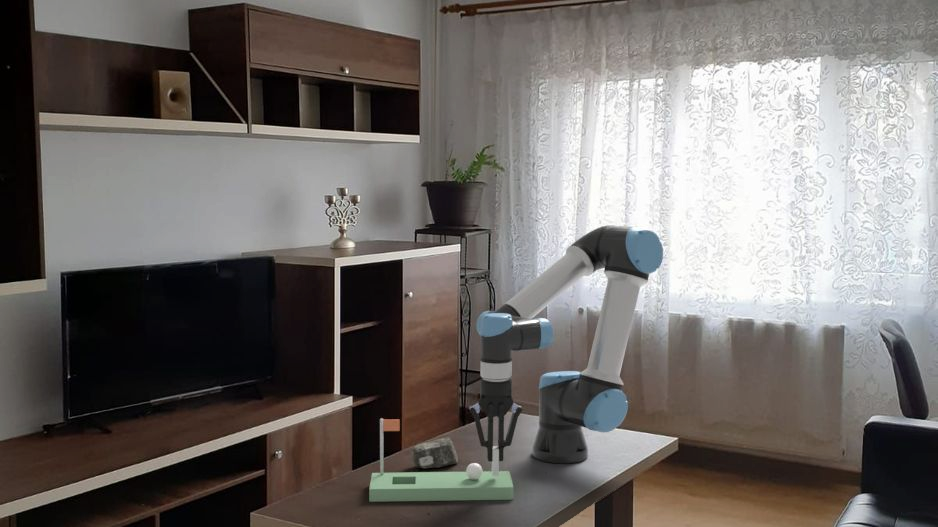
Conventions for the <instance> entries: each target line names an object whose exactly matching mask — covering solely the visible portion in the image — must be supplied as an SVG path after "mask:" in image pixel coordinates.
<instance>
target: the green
mask: <svg viewBox="0 0 938 527" xmlns="http://www.w3.org/2000/svg"><path fill="white" fill-rule="evenodd" d="M400 422H401V421H400V419H398V418H397V419H393V418H392V419H384V418H380V419H379V459H380V460H379V464H380V465H379V469H380V470H379V472H372V473H371V479H370V483H369V489H368V490H369V492H368V495H369V496H368V499H369V503H370V502H371V503H372V502H373V503H375V502H379V503H380V502H381V503H382V502H429V501H431V502H432V501H433V502H434V501H435V502H439V501H441V502H442V501H447V502H449V501H500V500H501V501H502V500H503V501H504V500H506V501H508V500H509V501H510V500H514V498H515V496H514V493H515V492H514V491H515V490H514V483H513V479H512V477H511V472H510V470H499V476H492V470H491V471H490V470H489V471H488V470H487V471H485V470H483V472H482V476H481V477H480V478H479V479H477V480H472V479H470V478H469V477H468V476H467V474H466V471H428V472H427V471H420V472H418V471H416V472H415V471H414V472H413V471H410V472H406V471H405V472H385V471H384V469H385V468H384V467H385V466H384V432H400V429H401V428H400V427H401V426H400V425H401V423H400Z"/></svg>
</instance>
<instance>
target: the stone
mask: <svg viewBox="0 0 938 527" xmlns="http://www.w3.org/2000/svg"><path fill="white" fill-rule="evenodd" d="M411 457H412V462H413V464H414V467H417V468H418V469H423V470H424V469H434V468H441V467H445V466H450V465H455V464H456V465H458V462H459V458H458V454H457V451H456V448H455V445H454V442H453V441H452V439H451V438H450V437H449V436H448V437H443V438H442V437H441V438H437V439H434V440H429V441H428V442H423V443H419V444H416V445H415V446H414V447H413V449H412V450H411Z"/></svg>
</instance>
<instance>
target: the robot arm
mask: <svg viewBox="0 0 938 527" xmlns="http://www.w3.org/2000/svg"><path fill="white" fill-rule="evenodd" d="M663 260H664V249H663V244H662V242H661V241H660V237H659V236H658V234H657V233H656V232H655V231H653V230H652V229H650V228H646V227H641V226H625V225H623V226H622V225H611V224H610V225H609V224H608V225H607V224H606V225H604V226H599V227H598V228H595V229H593V230H591V231H589V232H588V233H585V235H583V236H581V237H580V238H579V239H577V240H576V241H575V242H573V243H572V244H571V245H569V246H568V247H567V248H566V250H565V254H564V255H563V256H561V258H560V259H558V260H557V261H556V262H555V263H553V264H552V265H551V266H549V267H548V268H547V269H546V270H545V271H544V272H543V271H542V273H540V274H539V275H538V276H537V277H536V278H535V279H533V280H532V281H531V282H530V283H528V285H526V286H525V287H524V288H522V289H521V290H520V291H518V292H517V293H516V294H515V295H514V296H512V297H511V298H510V299H509V300H508V301H506V302H505V303H503V304H502V305H501V306H500V307H498V308H497V309H495V310H486V311H483V312H482V313H480V315H479V316H478V318H477V320H476V325H475V326H476V330H477V333H478V335H479V336H480V337H479V338H480V364H479V365H480V375H479V376H480V377H481V379H480V380H479V381H480V383H479V384H480V385H479V389H480V390H479V397H478V400H477V403H475V404H474V405H469V407H468V408H469V412H470V414H471V415H472V416H473V418H474V423H475V427H476V432H477V436H478V439H479V443H480V446H481V447H485V448H486V450H487V451H486V452H487V453H486V454H487V457H486V458H487V461H488V462H491V471H492V476H499V471H500V467H499V466H500V462H503V461H504V449H505V448H506V447H510V446H511V445H512V443H513V442H512V441H513V437H514V433H515V430H516V426H517V423H518V418H519V416H520V415H521V414H522V412H523V408H522V406H521V405H520V404H517V403H516V402H515V401H514V400H513V397H512V387H513V386H512V379H511V378H512V373H513V370H512V368H513V367H512V365H513V353H515V352H522V351H531V350H541V349H545V348H547V347H549V346H551V344H552V342H553V341H554V337H555V336H554V333H555V330H554V327H553V324H552V323H551V322H550V320H548V319H547V318H545V317H536V316H537V315H538V314H539V313H541V311H543V310H544V309H545V308H546V307H548V306H549V305H550V304H552V302H554V301H555V300H556V299H558V298H559V297H560V296H561V295H562V294H564V293H565V292H566V291H567V290H569V289H570V288H571V287H572V286H574V284H576V283H577V282H578V281H580V279H582V278H583V277H589V276H591V275H592V274H593V273H595V272H596V271H598V270H601V269H604V271H603V273H604V275H605V277H606V279H607V284H606V287H605V291H604V295H603V300H602V304H601V309H600V311H599V312H600V313H599V316H598V321H597V325H596V329H595V334H594V336H593V337H594V338H593V342H592V347H591V350H590V355H589V359H588V363H587V367H586V368H585V369H584V370H582V371H577V370H561V371H552V372H551V371H550V372H546V373H544V374H542V375H541V376H540V377H539V386H538V429H537V432H536V435H535V437H534V440H533V444H532V451H531V452H532V457H534V458H535V459H536V460H538V461H542V462H545V463H552V464H572V463H573V464H574V463H579V462H582V461H585V460H587V458H588V457H589V454H588V453H589V447H588V444H587V442H586V438H585V434H584V432H583V428H585V429H588V430H589V431H593V432H599V433H610V432H612V431H614V430H615V429H616V428H618V427H619V426H620V425H621V424H622V423H623V422H624V420H625V418H626V416H627V413H628V408H629V402H628V400H627V398H628V397H627V396H626V393H625V392H623V388H624V381H623V380H622V378H621V376H620V375H621V371H622V366H623V362H624V358H625V353H626V350H627V346H628V345H627V344H628V341H629V338H630V337H629V336H630V333H631V328H632V324H633V321H634V315H635V311H636V307H637V302H638V297H639V295H640V290H641V287H642V286H644V285H645V284H647V283H648V282H649V276H650V274H652V273H654V272H656V271H657V270H658V269H659V268H660V267H661V265H662V262H663ZM480 409H481V411H483V413H484V414H485V415H486V418H487V419H486V420H487V422H486V423H487V424H486V426H487V427H486V429H487V430H486V431H487V433H486V434H487V437H486V438H487V439H485V436H484V431H483V428H482V424H481V419H480V416H479V415H480V414H479V413H480ZM509 410H511V417H510V421H509V424H508V429H507V432H506V436H505V438H504V435H505V431H504V430H505V428H504V427H505V416H506V415H507V414H508V412H509ZM494 417H495V418H496V417H497V445H494Z"/></svg>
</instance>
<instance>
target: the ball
mask: <svg viewBox="0 0 938 527" xmlns="http://www.w3.org/2000/svg"><path fill="white" fill-rule="evenodd" d="M483 471H484V470H483V467H482V466H481V464H479V463H477V462H472V463H470V464H468V466H466V469H465V472H466V474H467V476H468V477H469V478H470V479H472V480H477V479H479V478H480V477H481V476H482V472H483Z"/></svg>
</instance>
